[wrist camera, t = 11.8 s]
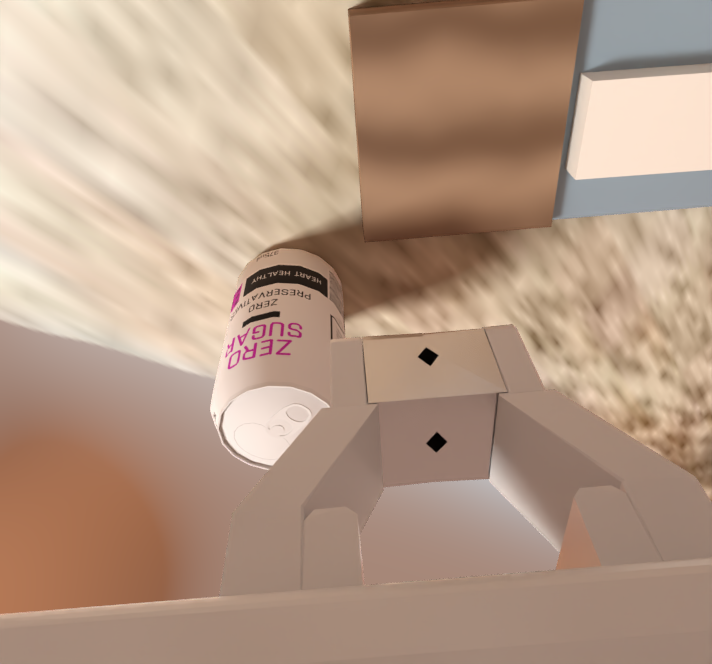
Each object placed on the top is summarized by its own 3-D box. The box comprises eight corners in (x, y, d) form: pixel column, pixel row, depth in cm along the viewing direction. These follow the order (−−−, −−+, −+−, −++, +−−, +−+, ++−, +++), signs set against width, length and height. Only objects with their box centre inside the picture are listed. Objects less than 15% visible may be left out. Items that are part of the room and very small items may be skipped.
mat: (569, -10, 34) (578, -7, 33) (842, -34, 34) (862, -31, 33) (540, 210, 42) (546, 220, 41) (759, 192, 42) (772, 201, 41)
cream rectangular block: (580, 72, 35) (592, 81, 34) (727, 62, 35) (747, 69, 34) (565, 168, 39) (575, 179, 37) (698, 158, 39) (714, 169, 37)
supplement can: (295, 348, 49) (286, 494, 37) (215, 291, 45) (177, 433, 33) (364, 288, 46) (379, 427, 34) (284, 222, 42) (268, 352, 30)
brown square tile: (347, 9, 34) (349, 16, 32) (569, -10, 34) (584, -4, 32) (362, 226, 42) (364, 242, 40) (540, 210, 42) (551, 226, 40)
